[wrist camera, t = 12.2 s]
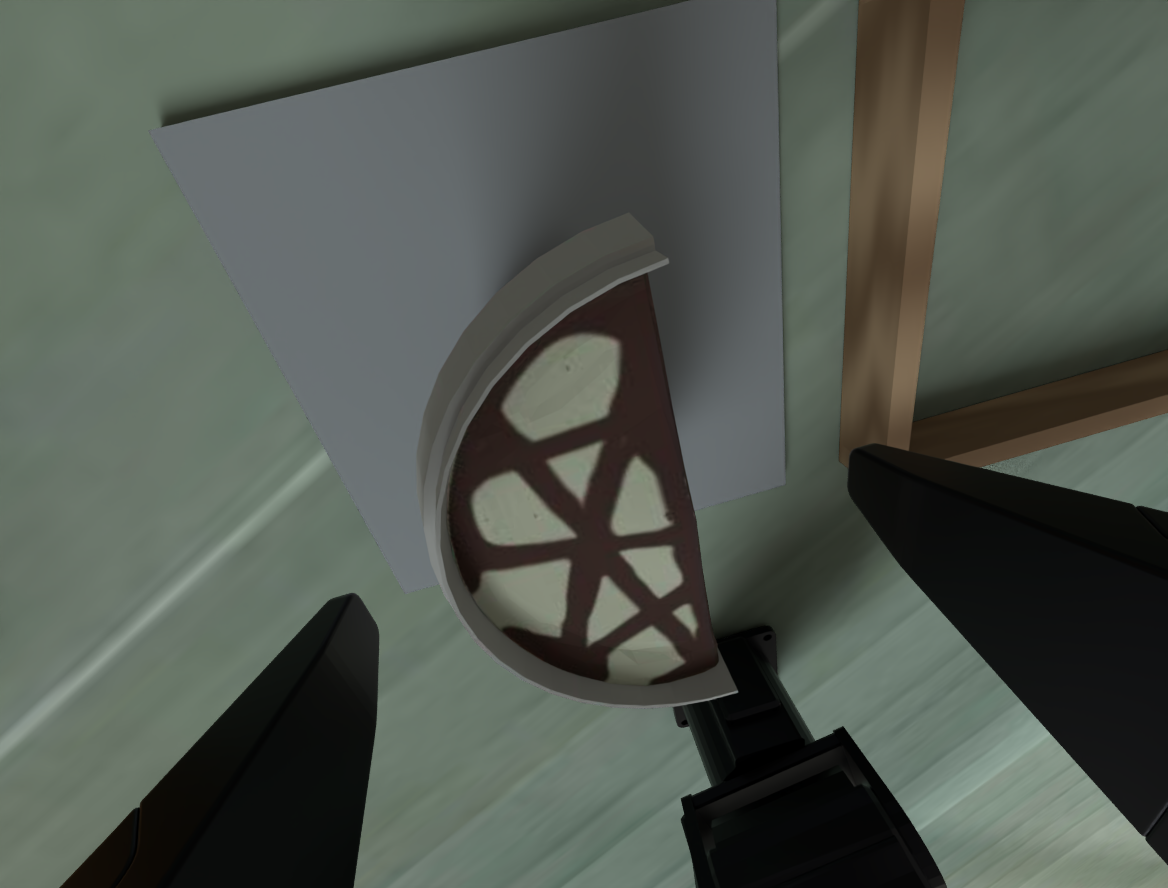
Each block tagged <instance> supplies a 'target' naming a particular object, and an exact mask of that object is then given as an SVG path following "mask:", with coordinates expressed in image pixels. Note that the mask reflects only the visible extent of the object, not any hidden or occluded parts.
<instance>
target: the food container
mask: <svg viewBox="0 0 1168 888" xmlns="http://www.w3.org/2000/svg"><path fill="white" fill-rule="evenodd" d="M667 264H669V259H668V258H667V257H666V256H664V255H662V254H661V253H659V252H657V251H656V250H655V243H654V238H653V236H652V235H651V234H650V233H649V232H648V231H647V230H646V229H645V228H644V227H643V226H642V225H641V224H640V223H639V222H638V221H637V220H636V219H635V218H634V217H633V216H632V215H631V214H630V213H626V214H624V215H621V216H619V217H616V218H614V219H611V220H609V221H606V222H604V223H601V224H599V225H597V226H594V227H592V228H589V229H587V230H584V231H582V232H580V233H578V234H577V235H575V236H573V237H572V238H570V239H568V240H567V241H565V242H563V243H562V244H560V245H558V246H557V247H555V248H553V249H552V250H550V251H548V252H547V253H545V254H543V255H542V256H540V257H538V258H537V259H535V260H534V261H533V262H532V263H531V264H530V265H528V266H527V267H526V268H525V269H524V270H522V271H521V272H520V273H519V274H518V275H517V276H515V277H514V278H513V279H512V280H511V281H509V282H508V283H507V284H506V285H505V286H504V287H502V288H501V289H500V290H499V291H498V292H496V293H495V295H494V296H493V297H492V298H491V299H490V301H489V302H488V303H487V304H486V305H485V306H484V308H483V309H482V310H481V311H480V312H479V313H478V315H477V316H476V317H475V318H474V319H473V321H472V322H471V323H470V324H469V325H468V326H467V328H466V329H465V330H464V331H463V333H462V334H461V336H460V338H459V340H458V341H457V343H456V345H455V346H454V348H453V350H452V351H451V353H450V355H449V356H448V358H447V360H446V361H445V363H444V365H443V366H442V368H441V370H440V372H439V374H438V377H437V379H436V382H435V385H434V387H433V390H432V392H431V395H430V398H429V400H428V403H427V406H426V408H425V411H424V414H423V419H422V425H421V431H420V436H419V442H418V447H417V453H416V475H417V496H418V502H419V507H420V512H421V517H422V522H423V528H424V533H425V537H426V542H427V547H428V552H429V557H430V562H431V565H432V568H433V570H434V572H435V575H436V577H437V579H438V582H439V584H440V586H441V589H442V591H443V593H444V596H445V597H446V599H447V600H448V601H449V603H450V604H451V606H452V607H453V609H454V611H455V613H456V615H457V617H458V618H459V620H460V621H461V623H462V624H463V625H464V627H465V628H466V630H467V631H468V633H469V634H470V635H471V637H472V638H473V640H474V641H475V642H476V643H477V644H478V645H479V646H480V647H481V648H482V649H483V650H484V651H485V652H486V653H487V654H488V655H489V656H490V657H491V658H492V659H493V660H494V661H495V662H496V663H498V664H499V665H501V666H502V667H504V668H505V669H506V670H508V671H509V672H511V673H512V674H514V675H515V676H517V677H518V678H520V679H521V680H523V681H525V682H527V683H529V684H531V685H534V686H536V687H538V688H540V689H542V690H544V691H547V692H549V693H551V694H554V695H558V696H561V697H564V698H568V699H571V700H574V701H578V702H581V703H588V704H594V705H600V706H606V707H614V708H640V709H646V708H660V707H674V706H681V705H687V704H692V703H698V702H703V701H709V700H712V699H716V698H720V697H723V696H727V695H731V694H734V693H738V690H737V688H736V686H735V684H734V681H733V679H732V677H731V675H730V673H729V671H728V669H727V666H726V664H725V662H724V660H723V658H722V656H721V654H720V651H719V649H718V644H717V641H716V639H715V637H714V633H713V628H712V624H711V618H710V612H709V606H708V600H707V594H706V588H705V582H704V575H703V569H702V561H701V553H700V545H699V537H698V529H697V521H696V516H695V512H694V507H693V503H692V498H691V494H690V489H689V485H688V480H687V476H686V471H685V467H684V462H683V457H682V452H681V447H680V442H679V437H678V432H677V427H676V421H675V416H674V411H673V406H672V401H671V395H670V390H669V384H668V379H667V374H666V368H665V363H664V357H663V352H662V346H661V341H660V336H659V330H658V325H657V320H656V315H655V309H654V304H653V299H652V294H651V288H650V283H649V278H648V273H647V272H649V271H652V270H654V269H657V268H659V267H662V266H664V265H667Z"/></svg>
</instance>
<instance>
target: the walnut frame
mask: <svg viewBox="0 0 1168 888" xmlns="http://www.w3.org/2000/svg"><path fill="white" fill-rule="evenodd" d="M964 4H965V0H859V10H858V33H857V56H856V79H855V102H854V124H853V147H852V170H851V193H850V216H849V239H848V262H847V284H846V307H845V330H844V353H843V376H842V399H841V422H840V444H839V461H840V462H841V463H842V464H843V465H844V466H846V467H847V468H848V465H849V454H850V452H851V451H852V450H853V449H854V448H857V447H861V446H864V445H868V444H871V443H878V444H882V445H886V446H891V447H895V448H899V449H903V450H907V451H912V452H916V453H920V454H924V455H928V456H933V457H937V458H941V459H945V460H949V461H954V462H958V463H962V464H966V465H970V466H975V467H983V466H986V465H990V464H993V463H996V462H1000V461H1003V460H1007V459H1010V458H1014V457H1017V456H1021V455H1024V454H1027V453H1031V452H1034V451H1038V450H1041V449H1045V448H1048V447H1052V446H1055V445H1058V444H1062V443H1065V442H1069V441H1072V440H1076V439H1079V438H1083V437H1086V436H1089V435H1093V434H1096V433H1100V432H1103V431H1107V430H1110V429H1113V428H1117V427H1120V426H1124V425H1127V424H1131V423H1134V422H1138V421H1141V420H1144V419H1148V418H1151V417H1155V416H1158V415H1162V414H1165V413H1168V350H1165V351H1162V352H1158V353H1154V354H1151V355H1147V356H1144V357H1140V358H1137V359H1133V360H1130V361H1126V362H1123V363H1119V364H1116V365H1112V366H1109V367H1105V368H1102V369H1098V370H1095V371H1091V372H1088V373H1084V374H1081V375H1077V376H1074V377H1070V378H1067V379H1063V380H1060V381H1056V382H1053V383H1049V384H1046V385H1042V386H1039V387H1035V388H1031V389H1028V390H1024V391H1021V392H1017V393H1014V394H1010V395H1007V396H1003V397H1000V398H996V399H993V400H989V401H986V402H982V403H979V404H975V405H972V406H968V407H965V408H961V409H958V410H954V411H951V412H947V413H944V414H940V415H937V416H933V417H930V418H926V419H923V420H919V421H915V422H912V421H913V413H914V404H915V396H916V388H917V380H918V372H919V364H920V356H921V348H922V340H923V332H924V324H925V316H926V308H927V300H928V292H929V284H930V276H931V268H932V260H933V252H934V244H935V236H936V228H937V220H938V212H939V204H940V196H941V188H942V180H943V172H944V164H945V156H946V148H947V140H948V132H949V124H950V116H951V108H952V100H953V92H954V84H955V76H956V68H957V60H958V52H959V44H960V36H961V28H962V20H963V12H964Z"/></svg>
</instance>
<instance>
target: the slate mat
mask: <svg viewBox="0 0 1168 888" xmlns="http://www.w3.org/2000/svg"><path fill="white" fill-rule="evenodd" d="M148 131H149V133H150V135H151V137H152V139H153V140H154V142H155V144H156V146H157V148H158V149H159V151H160V153H161V155H162V157H163V158H164V160H165V162H166V164H167V166H168V167H169V169H170V171H171V173H172V175H173V176H174V178H175V180H176V182H177V184H178V185H179V187H180V189H181V191H182V193H183V195H184V196H185V198H186V200H187V202H188V204H189V205H190V207H191V209H192V211H193V213H194V214H195V216H196V218H197V220H198V222H199V223H200V225H201V227H202V229H203V231H204V232H205V234H206V236H207V238H208V240H209V241H210V243H211V245H212V247H213V249H214V250H215V252H216V254H217V256H218V258H219V259H220V261H221V263H222V265H223V267H224V268H225V270H226V272H227V274H228V276H229V277H230V279H231V281H232V283H233V285H234V287H235V288H236V290H237V292H238V294H239V296H240V297H241V299H242V301H243V303H244V305H245V306H246V308H247V310H248V312H249V314H250V315H251V317H252V319H253V321H254V323H255V324H256V326H257V328H258V330H259V332H260V333H261V335H262V337H263V339H264V341H265V342H266V344H267V346H268V348H269V350H270V351H271V353H272V355H273V357H274V359H275V360H276V362H277V364H278V366H279V368H280V369H281V371H282V373H283V375H284V377H285V378H286V380H287V382H288V384H289V386H290V388H291V389H292V391H293V393H294V395H295V397H296V398H297V400H298V402H299V404H300V406H301V407H302V409H303V411H304V413H305V415H306V416H307V418H308V420H309V422H310V424H311V425H312V427H313V429H314V431H315V433H316V434H317V436H318V438H319V440H320V442H321V443H322V445H323V447H324V449H325V451H326V452H327V454H328V456H329V458H330V460H331V461H332V463H333V465H334V467H335V469H336V470H337V472H338V474H339V476H340V478H341V480H342V481H343V483H344V485H345V487H346V489H347V490H348V492H349V494H350V496H351V498H352V499H353V501H354V503H355V505H356V507H357V508H358V510H359V512H360V514H361V516H362V517H363V519H364V521H365V523H366V525H367V526H368V528H369V530H370V532H371V534H372V535H373V537H374V539H375V541H376V543H377V544H378V546H379V548H380V550H381V552H382V553H383V555H384V557H385V559H386V561H387V562H388V564H389V566H390V568H391V570H392V571H393V573H394V575H395V577H396V579H397V581H398V582H399V584H400V586H401V588H402V590H403V591H404V593H405V594H407V593H410V592H414V591H417V590H421V589H424V588H428V587H431V586H435V585H438V584H439V582H438V579H437V577H436V575H435V572H434V570H433V568H432V565H431V562H430V557H429V552H428V547H427V542H426V537H425V533H424V528H423V522H422V517H421V512H420V507H419V502H418V496H417V475H416V453H417V447H418V442H419V436H420V431H421V425H422V419H423V414H424V411H425V408H426V406H427V403H428V400H429V398H430V395H431V392H432V390H433V387H434V385H435V382H436V379H437V377H438V374H439V372H440V370H441V368H442V366H443V365H444V363H445V361H446V360H447V358H448V356H449V355H450V353H451V351H452V350H453V348H454V346H455V345H456V343H457V341H458V340H459V338H460V336H461V334H462V333H463V331H464V330H465V329H466V328H467V326H468V325H469V324H470V323H471V322H472V321H473V319H474V318H475V317H476V316H477V315H478V313H479V312H480V311H481V310H482V309H483V308H484V306H485V305H486V304H487V303H488V302H489V301H490V299H491V298H492V297H493V296H494V295H495V293H496V292H498V291H499V290H500V289H501V288H502V287H504V286H505V285H506V284H507V283H508V282H509V281H511V280H512V279H513V278H514V277H515V276H517V275H518V274H519V273H520V272H521V271H522V270H524V269H525V268H526V267H527V266H528V265H530V264H531V263H532V262H533V261H534V260H535V259H537V258H538V257H540V256H542V255H543V254H545V253H547V252H548V251H550V250H552V249H553V248H555V247H557V246H558V245H560V244H562V243H563V242H565V241H567V240H568V239H570V238H572V237H573V236H575V235H577V234H578V233H580V232H582V231H584V230H587V229H589V228H592V227H594V226H597V225H599V224H601V223H604V222H606V221H609V220H611V219H614V218H616V217H619V216H621V215H624V214H626V213H630V214H631V215H632V216H633V217H634V218H635V219H636V220H637V221H638V222H639V223H640V224H641V225H642V226H643V227H644V228H645V229H646V230H647V231H648V232H649V233H650V234H651V235H652V236H653V238H654V243H655V250H656V251H657V252H659V253H661V254H662V255H664V256H666V257H667V258H668V259H669V264H667V265H664V266H662V267H659V268H657V269H654V270H652V271H649V272H647V273H648V278H649V283H650V288H651V294H652V299H653V304H654V309H655V315H656V320H657V325H658V330H659V336H660V341H661V346H662V352H663V357H664V363H665V368H666V374H667V379H668V384H669V390H670V395H671V401H672V406H673V411H674V416H675V421H676V427H677V432H678V437H679V442H680V447H681V452H682V457H683V462H684V467H685V471H686V476H687V480H688V485H689V489H690V494H691V498H692V503H693V507H694V511H696V510H699V509H703V508H706V507H710V506H713V505H717V504H720V503H724V502H727V501H731V500H734V499H738V498H741V497H745V496H748V495H752V494H755V493H759V492H762V491H766V490H769V489H773V488H776V487H780V486H783V485H786V476H785V424H784V373H783V321H782V269H781V218H780V166H779V114H778V63H777V11H776V0H690V1H685V2H681V3H677V4H673V5H669V6H665V7H661V8H656V9H652V10H648V11H644V12H640V13H636V14H631V15H627V16H623V17H619V18H615V19H611V20H606V21H602V22H598V23H594V24H590V25H586V26H581V27H577V28H573V29H569V30H565V31H561V32H556V33H552V34H548V35H544V36H540V37H536V38H531V39H527V40H523V41H519V42H515V43H511V44H506V45H502V46H498V47H494V48H490V49H486V50H481V51H477V52H473V53H469V54H465V55H461V56H456V57H452V58H448V59H444V60H440V61H436V62H432V63H427V64H423V65H419V66H415V67H411V68H407V69H402V70H398V71H394V72H390V73H386V74H382V75H377V76H373V77H369V78H365V79H361V80H357V81H352V82H348V83H344V84H340V85H336V86H332V87H327V88H323V89H319V90H315V91H311V92H307V93H302V94H298V95H294V96H290V97H286V98H282V99H277V100H273V101H269V102H265V103H261V104H257V105H252V106H248V107H244V108H240V109H236V110H232V111H228V112H223V113H219V114H215V115H211V116H207V117H203V118H198V119H194V120H190V121H186V122H182V123H178V124H173V125H169V126H165V127H161V128H157V129H153V130H148Z"/></svg>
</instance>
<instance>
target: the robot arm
mask: <svg viewBox="0 0 1168 888" xmlns="http://www.w3.org/2000/svg"><path fill="white" fill-rule="evenodd" d="M847 487H848V492H849V495H850V497H851V499H852V500H853V502H854V503H855V504H856V506H857V507H858V509H859V510H860V511H861V513H862V514H863V515H864V517H865V518H866V520H867V521H868V522H869V524H870V525H871V527H872V528H873V529H874V531H875V532H876V533H877V535H878V536H879V538H880V539H881V540H882V542H883V543H884V544H885V546H886V547H887V549H888V550H889V551H890V553H891V554H892V555H893V557H894V558H895V559H896V561H897V562H898V563H899V565H900V566H901V567H902V568H903V569H904V570H905V572H906V573H907V574H908V575H909V576H910V577H911V579H912V580H913V581H914V582H915V583H916V584H917V585H918V586H919V588H920V589H921V590H922V591H923V592H924V593H925V594H926V595H927V596H928V598H929V599H930V600H931V601H932V602H933V603H934V604H935V605H936V606H937V608H938V609H939V610H940V611H941V612H942V613H943V614H944V615H945V617H946V618H947V619H948V620H949V621H950V622H951V623H952V624H953V625H954V627H955V628H956V629H957V630H958V631H959V632H960V633H961V634H962V636H963V637H964V638H965V639H966V640H967V641H968V642H969V643H970V644H971V646H972V647H973V648H974V649H975V650H976V651H977V652H978V653H979V654H980V656H981V657H982V658H983V659H984V660H985V661H986V662H987V663H988V665H989V666H990V667H991V668H992V669H993V670H994V671H995V672H996V673H997V675H998V676H999V677H1000V678H1001V679H1002V680H1003V681H1004V682H1005V683H1006V685H1007V686H1008V687H1009V688H1010V689H1011V690H1012V691H1013V692H1014V694H1015V695H1016V696H1017V697H1018V698H1019V699H1020V700H1021V701H1022V702H1023V704H1024V705H1025V706H1026V707H1027V708H1028V709H1029V710H1030V711H1031V712H1032V714H1033V715H1034V716H1035V717H1036V718H1037V719H1038V720H1039V721H1040V723H1041V724H1042V725H1043V726H1044V727H1045V728H1046V729H1047V730H1048V731H1049V733H1050V734H1051V735H1052V736H1053V737H1054V738H1055V739H1056V740H1057V742H1058V743H1059V744H1060V745H1061V746H1062V747H1063V748H1064V749H1065V750H1066V752H1067V753H1068V754H1069V755H1070V756H1071V757H1072V758H1073V759H1074V760H1075V762H1076V763H1077V764H1078V765H1079V766H1080V767H1081V768H1082V769H1083V771H1084V772H1085V773H1086V774H1087V775H1088V776H1089V777H1090V778H1091V779H1092V781H1093V782H1094V783H1095V784H1096V785H1097V786H1098V787H1099V788H1100V789H1101V791H1102V792H1103V793H1104V794H1105V795H1106V796H1107V797H1108V798H1109V800H1110V801H1111V802H1112V803H1113V804H1114V805H1115V806H1116V807H1117V808H1118V810H1119V811H1120V812H1121V813H1122V814H1123V815H1124V816H1125V817H1126V819H1127V820H1128V821H1129V822H1130V823H1131V824H1132V825H1133V826H1134V827H1135V829H1136V830H1137V831H1138V832H1139V833H1140V834H1141V835H1142V836H1145V837H1146V838H1145V839H1146V841H1147V843H1148V844H1149V845H1150V846H1151V847H1152V848H1153V849H1154V850H1155V851H1156V853H1157V854H1158V855H1159V856H1160V857H1161V858H1162V859H1163V860H1164V862H1165V863H1166V864H1167V865H1168V512H1164V511H1160V510H1156V509H1152V508H1148V507H1144V506H1137V507H1135V506H1134V505H1133V504H1130V503H1126V502H1122V501H1118V500H1114V499H1109V498H1105V497H1101V496H1097V495H1093V494H1088V493H1084V492H1080V491H1076V490H1072V489H1067V488H1063V487H1059V486H1055V485H1050V484H1046V483H1042V482H1038V481H1034V480H1029V479H1025V478H1021V477H1017V476H1013V475H1008V474H1004V473H1000V472H996V471H991V470H987V469H983V468H979V467H975V466H970V465H966V464H962V463H958V462H954V461H949V460H945V459H941V458H937V457H933V456H928V455H924V454H920V453H916V452H912V451H907V450H903V449H899V448H895V447H891V446H886V445H882V444H878V443H871V444H868V445H864V446H861V447H857V448H854V449H853V450H852V451H851V452H850V454H849V465H848V482H847ZM716 641H717V644H718V649H719V651H720V654H721V656H722V658H723V660H724V662H725V664H726V666H727V669H728V671H729V673H730V675H731V677H732V679H733V681H734V684H735V686H736V688H737V690H738V693H734V694H731V695H727V696H723V697H720V698H716V699H712V700H709V701H703V702H698V703H692V704H687V705H681V706H674V707H673V711H674V715H675V719H676V722H677V725H678V727H681V728H684V727H688V726H689V727H690V729H691V732H692V735H693V738H694V740H695V743H696V746H697V748H698V751H699V754H700V757H701V759H702V762H703V765H704V767H705V770H706V773H707V776H708V778H709V781H710V784H711V786H712V787H710V788H708V789H706V790H704V791H701V792H699V793H697V794H695V795H691V794H689V795H687V796H685V797H683V798H681V802H682V806H683V810H684V815H683V817H682V818H681V823H682V826H683V829H684V833H685V836H686V839H687V843H688V846H689V850H690V853H691V858H692V863H693V870H694V877H695V885H696V888H947V886H946V883H945V881H944V879H943V877H942V875H941V873H940V871H939V869H938V867H937V865H936V863H935V861H934V859H933V858H932V856H931V854H930V852H929V851H928V849H927V847H926V845H925V844H924V842H923V840H922V839H921V837H920V835H919V834H918V832H917V831H916V829H915V827H914V826H913V824H912V823H911V821H910V820H909V818H908V816H907V815H906V813H905V812H904V810H903V809H902V807H901V806H900V805H899V803H898V802H897V800H896V799H895V797H894V796H893V795H892V793H891V792H890V791H889V789H888V788H887V786H886V785H885V784H884V782H883V781H882V779H881V778H880V777H879V775H878V774H877V772H876V771H875V770H874V768H873V767H872V765H871V764H870V763H869V761H868V760H867V759H866V757H865V756H864V754H863V753H862V752H861V750H860V749H859V747H858V746H857V745H856V743H855V742H854V740H853V739H852V738H851V736H850V735H849V733H848V732H847V731H846V729H845V728H844V727H843V726H842V727H840V728H838V729H836V730H833V733H832V734H830V735H828V736H825V737H823V738H821V739H819V740H816V741H815V739H814V738H813V736H812V734H811V732H810V731H809V729H808V727H807V726H806V724H805V722H804V720H803V719H802V717H801V715H800V713H799V712H798V710H797V708H796V707H795V705H794V703H793V701H792V700H791V698H790V696H789V695H788V693H787V691H786V689H785V688H784V686H783V684H782V683H781V681H780V679H779V677H778V676H777V651H776V634H775V632H774V630H773V629H772V627H770V626H763V627H759V628H756V629H753V630H749V631H746V632H743V633H739V634H736V635H733V636H729V637H726V638H723V639H719V640H716ZM378 665H379V631H378V627H377V624H376V622H375V621H374V619H373V617H372V616H371V614H370V613H369V611H368V609H367V608H366V606H365V605H364V603H363V601H362V600H361V598H360V597H359V596H358V595H357V594H355V593H349V594H346V595H342V596H339V597H335V598H332V599H330V600H329V601H328V602H327V603H326V604H325V605H324V606H323V607H322V608H321V609H320V610H319V611H318V612H317V613H316V614H315V616H314V617H313V618H312V619H311V620H310V621H309V622H308V623H307V624H306V625H305V626H304V627H303V628H302V629H301V631H300V632H299V633H298V634H297V635H296V636H295V637H294V638H293V639H292V640H291V641H290V642H289V643H288V645H287V646H286V647H285V648H284V649H283V650H282V651H281V652H280V653H279V654H278V655H277V656H276V657H275V658H274V660H273V661H272V662H271V663H270V664H269V665H268V666H267V667H266V668H265V669H264V670H263V671H262V672H261V673H260V675H259V676H258V677H257V678H256V679H255V680H254V681H253V682H252V683H251V684H250V685H249V686H248V687H247V688H246V690H245V691H244V692H243V693H242V694H241V695H240V696H239V697H238V698H237V699H236V700H235V701H234V702H233V703H232V705H231V706H230V707H229V708H228V709H227V710H226V711H225V712H224V713H223V714H222V715H221V716H220V717H219V718H218V720H217V721H216V722H215V723H214V724H213V725H212V726H211V727H210V728H209V729H208V730H207V731H206V732H205V733H204V735H203V736H202V737H201V738H200V739H199V740H198V741H197V742H196V743H195V744H194V745H193V746H192V747H191V748H190V750H189V751H188V752H187V753H186V754H185V755H184V756H183V757H182V758H181V759H180V760H179V761H178V762H177V763H176V765H175V766H174V767H173V768H172V769H171V770H170V771H169V772H168V773H167V774H166V775H165V776H164V777H163V778H162V780H161V781H160V782H159V783H158V784H157V785H156V786H155V787H154V788H153V789H152V790H151V791H150V792H149V793H148V795H147V796H146V797H145V798H144V799H143V800H142V801H141V803H140V808H139V807H138V808H135V809H133V810H132V811H131V813H130V814H129V815H128V816H127V817H126V818H125V819H124V820H123V821H122V822H121V823H120V824H119V826H118V827H117V828H116V829H115V830H114V831H113V832H112V833H111V834H110V835H109V836H108V837H107V838H106V839H105V841H104V842H103V843H102V844H101V845H100V846H99V847H98V848H97V849H96V850H95V851H94V852H93V853H92V854H91V855H90V856H89V857H88V858H87V859H86V860H85V861H84V863H83V864H82V865H81V866H80V867H79V868H78V869H77V870H76V871H75V872H74V873H73V874H72V875H71V876H70V877H69V878H68V879H67V880H66V881H65V882H64V883H63V885H62V886H61V887H60V888H354V881H355V873H356V866H357V859H358V852H359V845H360V838H361V831H362V824H363V817H364V810H365V803H366V795H367V788H368V781H369V774H370V767H371V760H372V753H373V746H374V739H375V730H376V720H377V699H378Z"/></svg>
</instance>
